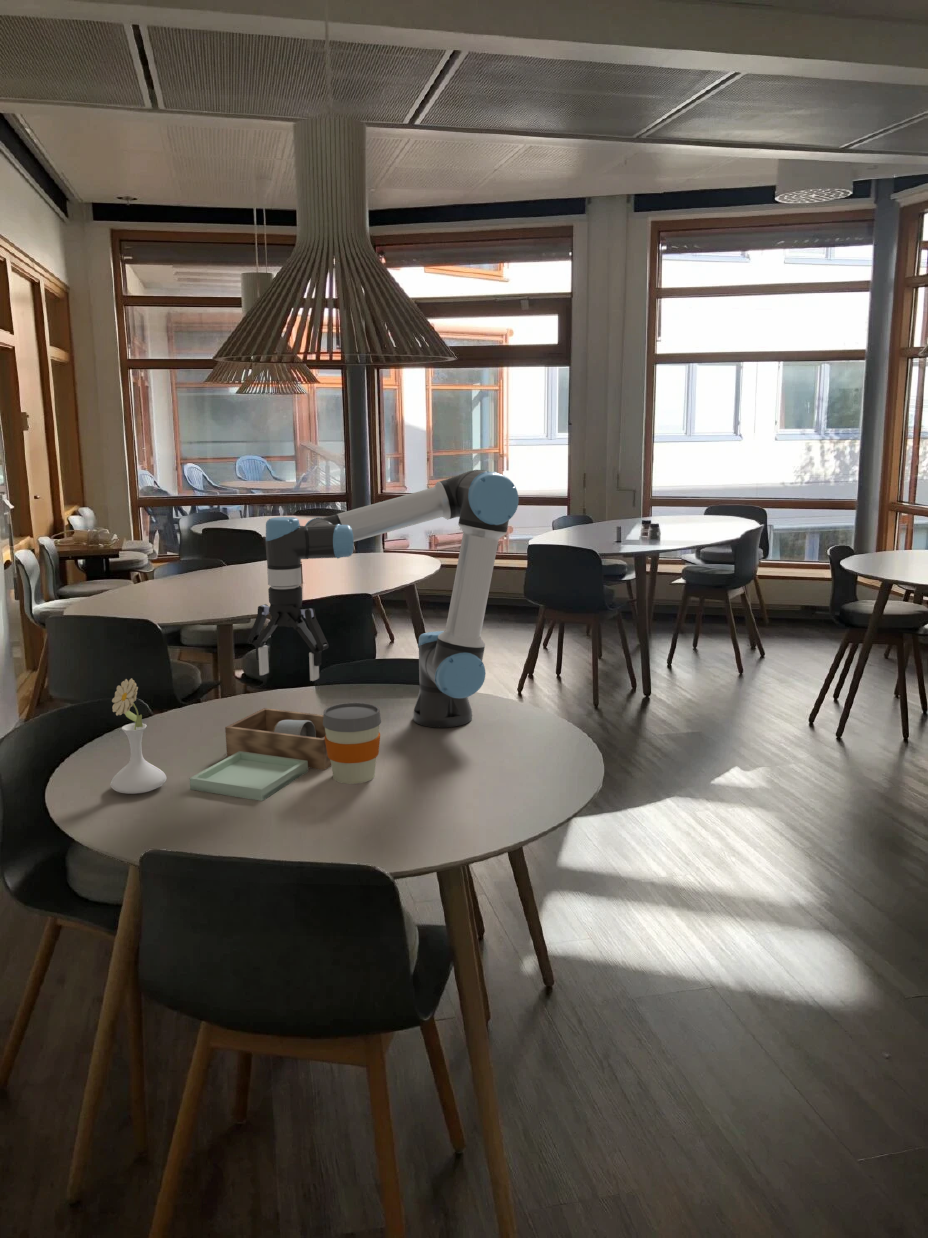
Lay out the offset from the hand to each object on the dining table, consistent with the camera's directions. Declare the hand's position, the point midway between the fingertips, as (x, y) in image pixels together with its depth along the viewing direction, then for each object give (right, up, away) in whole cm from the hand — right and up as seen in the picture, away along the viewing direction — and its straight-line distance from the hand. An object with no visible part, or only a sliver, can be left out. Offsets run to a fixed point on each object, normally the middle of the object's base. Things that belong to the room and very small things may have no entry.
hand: (289, 676), depth 226 cm
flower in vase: (-28, -23, -18) cm, 41 cm away
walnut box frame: (0, -18, +4) cm, 18 cm away
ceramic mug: (0, -18, +3) cm, 19 cm away
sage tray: (-6, -22, -14) cm, 26 cm away
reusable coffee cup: (+16, -21, -12) cm, 29 cm away
